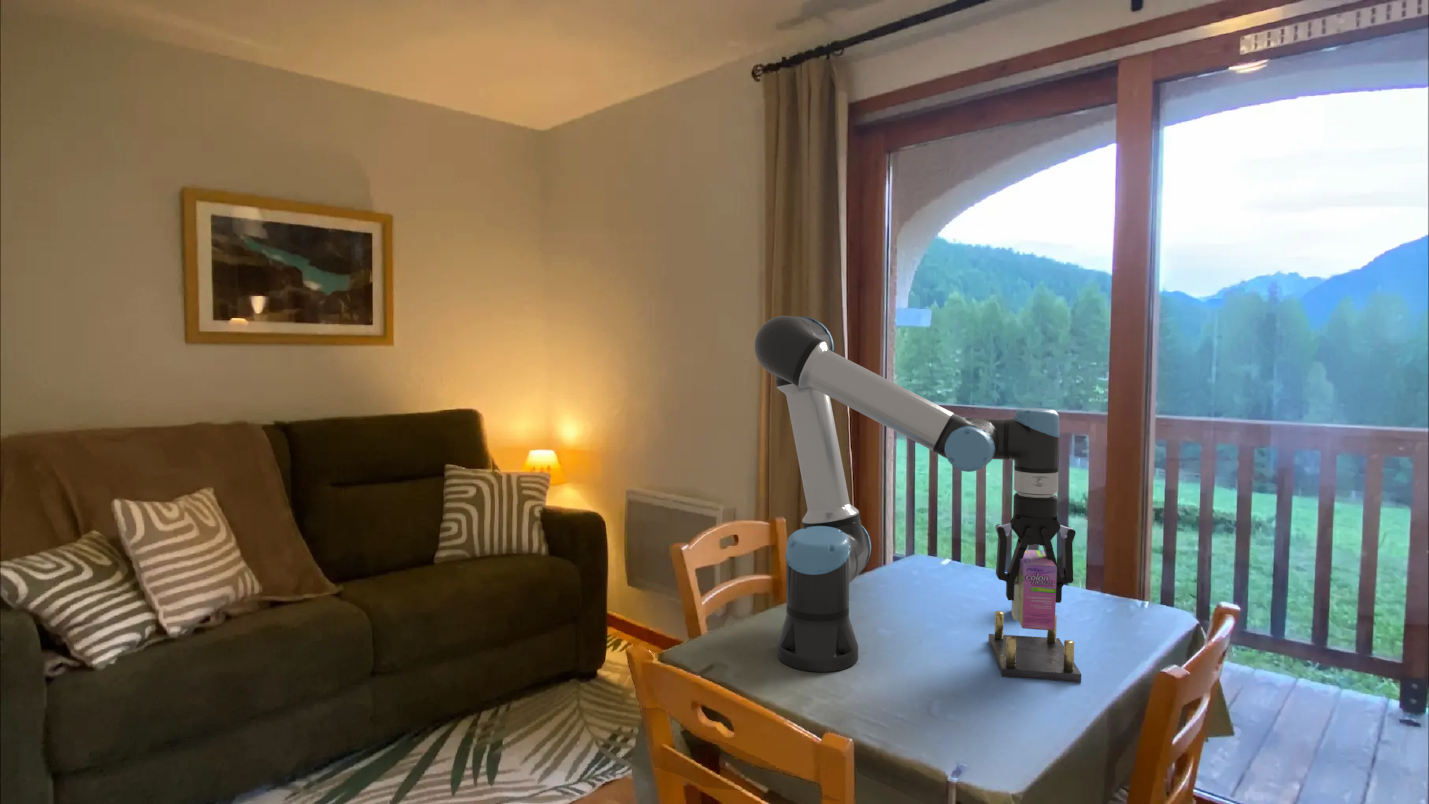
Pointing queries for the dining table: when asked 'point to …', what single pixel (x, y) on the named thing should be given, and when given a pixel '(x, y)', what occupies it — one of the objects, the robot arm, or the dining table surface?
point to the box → (1037, 591)
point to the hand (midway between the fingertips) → (1033, 618)
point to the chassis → (1033, 655)
